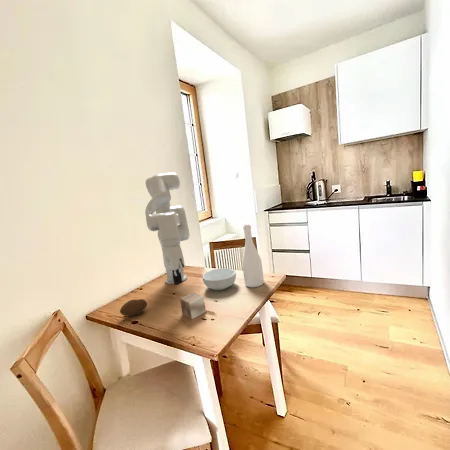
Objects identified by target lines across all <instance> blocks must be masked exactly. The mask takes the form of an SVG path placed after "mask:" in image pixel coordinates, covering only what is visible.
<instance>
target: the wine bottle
mask: <svg viewBox="0 0 450 450" xmlns="http://www.w3.org/2000/svg"><path fill="white" fill-rule="evenodd" d="M243 232H244V239H245V240H244V241H245V242H244V243H245V244H244V248H243V255H242V260H241V265H242V273H243V279H244V281H243V282H244V284H245V286H246V287H248V288H258V287H260V286H263V284H264V283H265V280H264V271H263V263H262V258H261V256H260V254H259V252H258V250H257V248H256V245H255V244H254V241H253V236H252V226H251V224H250V223H249V224H248V223H247V224H243Z"/></svg>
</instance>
